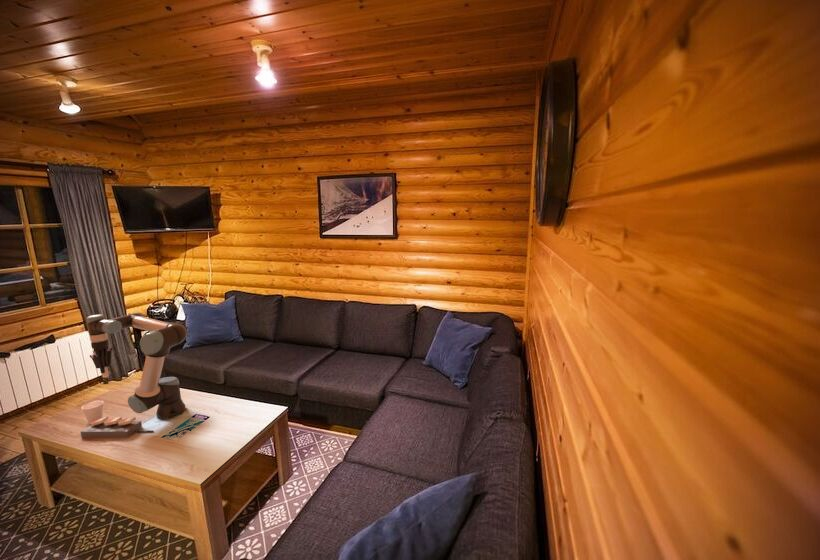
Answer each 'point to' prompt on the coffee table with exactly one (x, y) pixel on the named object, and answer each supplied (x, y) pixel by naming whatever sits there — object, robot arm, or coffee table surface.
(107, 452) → the coffee table surface
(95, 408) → the cup
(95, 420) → the rocker
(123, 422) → the rocker
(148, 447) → the coffee table surface
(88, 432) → the power strip
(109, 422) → the rocker
